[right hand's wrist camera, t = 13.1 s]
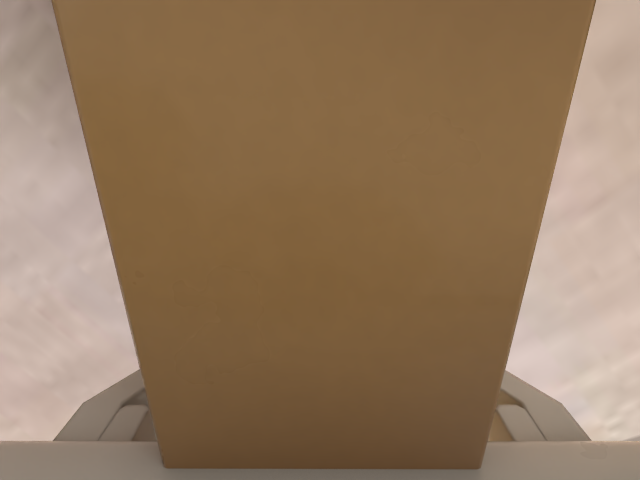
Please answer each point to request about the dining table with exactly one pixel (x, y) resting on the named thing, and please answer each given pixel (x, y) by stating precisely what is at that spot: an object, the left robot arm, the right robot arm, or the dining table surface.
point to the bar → (323, 213)
